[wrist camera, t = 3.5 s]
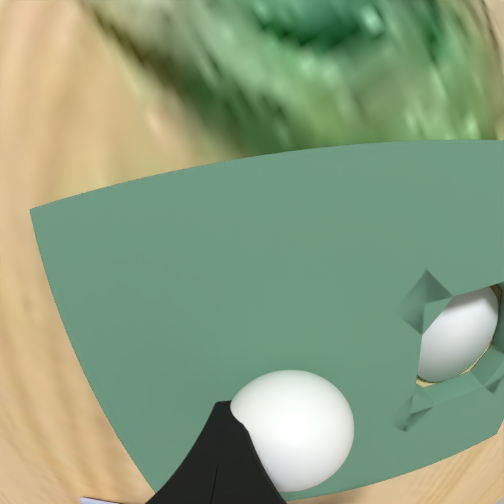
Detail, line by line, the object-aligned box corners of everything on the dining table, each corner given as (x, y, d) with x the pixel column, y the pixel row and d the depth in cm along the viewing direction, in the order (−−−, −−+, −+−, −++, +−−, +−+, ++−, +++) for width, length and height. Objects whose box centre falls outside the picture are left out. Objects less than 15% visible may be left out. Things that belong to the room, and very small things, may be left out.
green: (486, 421, 15) (496, 433, 14) (167, 487, 16) (164, 504, 15) (528, 142, 10) (548, 143, 9) (50, 203, 11) (29, 209, 10)
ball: (249, 433, 13) (351, 422, 12) (231, 513, 8) (360, 505, 8) (222, 353, 12) (342, 336, 11) (186, 437, 8) (358, 423, 7)
